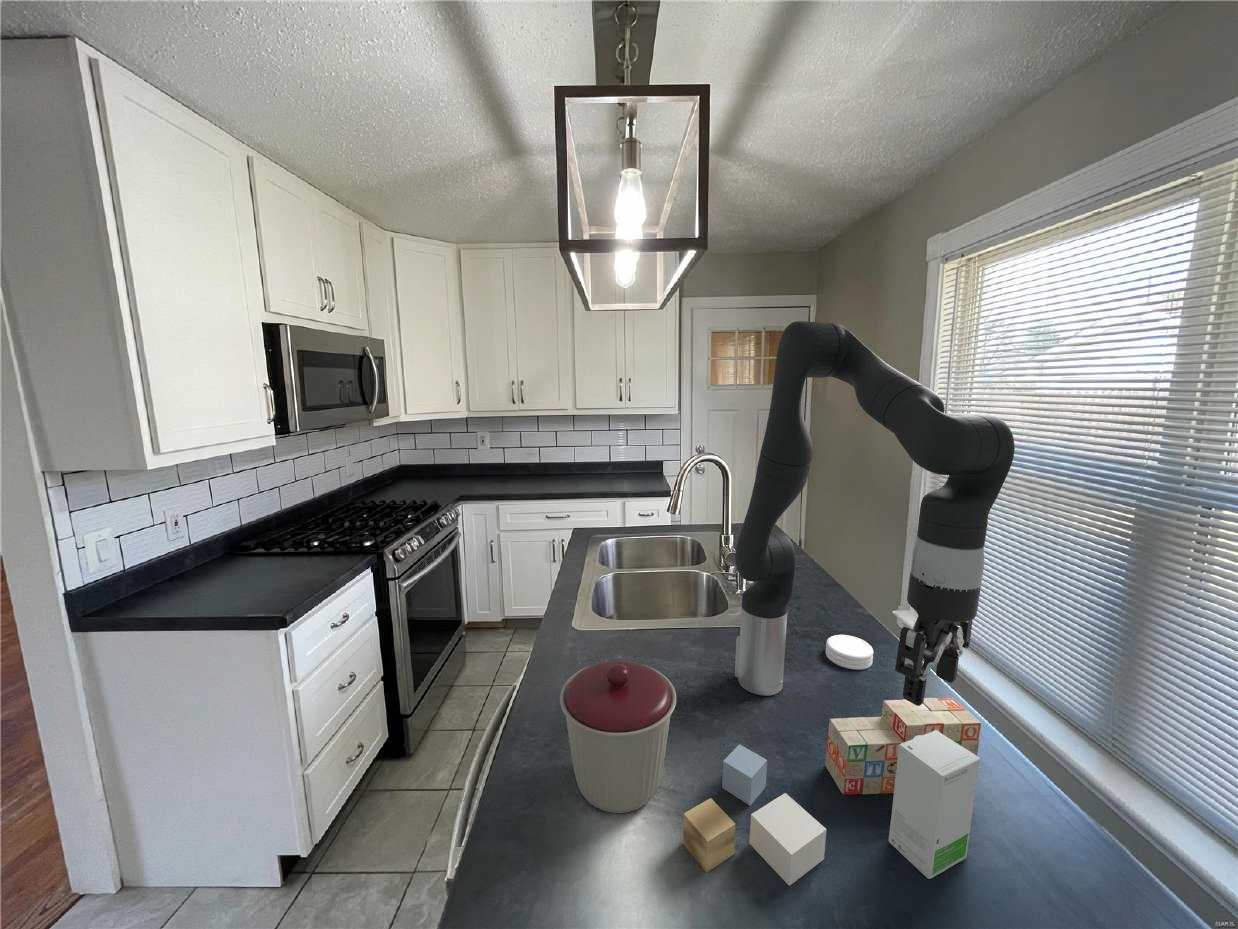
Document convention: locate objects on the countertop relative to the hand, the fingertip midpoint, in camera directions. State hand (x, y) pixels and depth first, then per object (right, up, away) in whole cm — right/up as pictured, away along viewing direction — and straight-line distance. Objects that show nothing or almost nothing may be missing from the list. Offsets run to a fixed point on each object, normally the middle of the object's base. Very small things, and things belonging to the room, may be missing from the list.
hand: (929, 690), depth 66 cm
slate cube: (-21, -22, +15) cm, 34 cm away
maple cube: (-28, -24, +4) cm, 38 cm away
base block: (-17, -24, +4) cm, 30 cm away
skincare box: (+2, -24, +4) cm, 25 cm away
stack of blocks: (+5, -22, +17) cm, 28 cm away
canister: (-41, -22, +15) cm, 49 cm away
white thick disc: (+13, -16, +51) cm, 55 cm away
